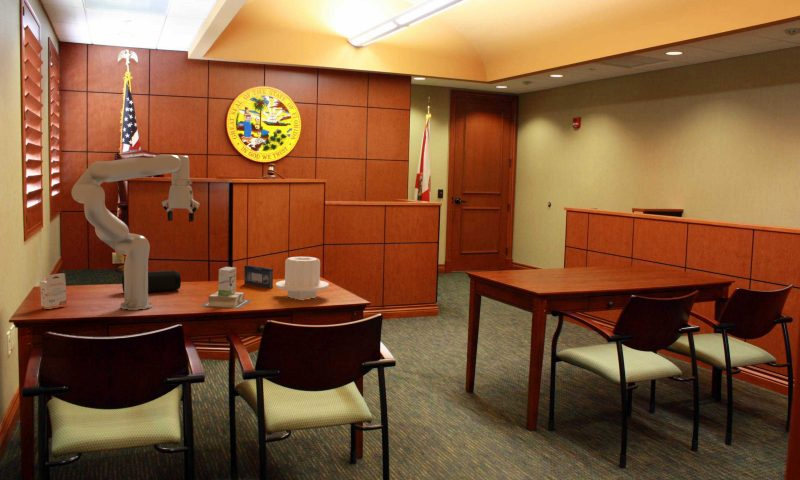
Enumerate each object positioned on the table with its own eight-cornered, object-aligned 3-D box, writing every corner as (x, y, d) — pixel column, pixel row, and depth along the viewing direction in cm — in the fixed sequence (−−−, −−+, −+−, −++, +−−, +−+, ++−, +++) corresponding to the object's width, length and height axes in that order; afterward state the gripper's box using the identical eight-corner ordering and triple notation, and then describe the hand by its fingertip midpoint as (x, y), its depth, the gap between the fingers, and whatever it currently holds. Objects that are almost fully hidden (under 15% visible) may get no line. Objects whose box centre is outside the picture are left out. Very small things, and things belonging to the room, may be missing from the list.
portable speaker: (177, 288, 336) (176, 268, 334) (181, 292, 327) (181, 271, 326) (122, 292, 323) (121, 271, 322) (124, 295, 314) (124, 274, 313)
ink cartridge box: (60, 305, 290) (59, 271, 289) (66, 307, 288) (66, 272, 286) (40, 308, 283) (39, 274, 281) (47, 310, 281) (46, 275, 279)
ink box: (225, 292, 305) (225, 266, 304) (236, 292, 304) (236, 267, 303) (217, 295, 297) (217, 269, 295) (228, 296, 296) (228, 269, 295)
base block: (235, 306, 295) (235, 297, 294) (208, 305, 296) (208, 296, 295) (244, 301, 306) (244, 292, 306) (218, 299, 308) (218, 291, 307)
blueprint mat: (239, 310, 291) (239, 308, 291) (199, 308, 293) (199, 305, 293) (252, 302, 309) (252, 299, 309) (214, 300, 311) (214, 297, 311)
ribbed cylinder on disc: (265, 296, 322) (265, 257, 320) (305, 290, 341) (306, 253, 338) (297, 305, 306) (298, 264, 303) (339, 298, 324) (340, 259, 322)
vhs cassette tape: (243, 284, 353) (244, 265, 352) (248, 283, 355) (248, 264, 354) (268, 289, 342) (269, 269, 341) (273, 288, 345) (273, 268, 344)
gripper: (202, 183, 304) (202, 221, 306) (165, 182, 306) (166, 219, 308) (195, 184, 297) (195, 222, 299) (158, 182, 299) (158, 221, 301)
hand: (180, 221), depth 303 cm, fingers open, 9 cm apart
